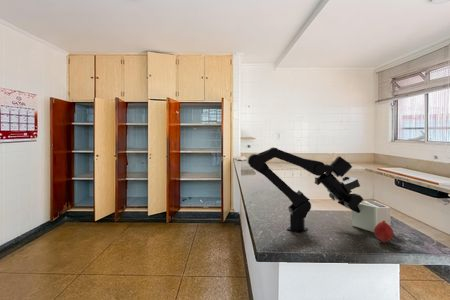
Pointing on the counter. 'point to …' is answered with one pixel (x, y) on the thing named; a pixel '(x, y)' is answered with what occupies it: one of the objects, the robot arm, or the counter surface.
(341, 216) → the counter surface
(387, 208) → the box
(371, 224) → the door
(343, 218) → the counter surface
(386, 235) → the onion
